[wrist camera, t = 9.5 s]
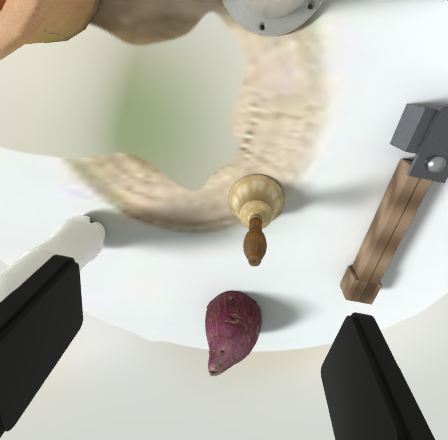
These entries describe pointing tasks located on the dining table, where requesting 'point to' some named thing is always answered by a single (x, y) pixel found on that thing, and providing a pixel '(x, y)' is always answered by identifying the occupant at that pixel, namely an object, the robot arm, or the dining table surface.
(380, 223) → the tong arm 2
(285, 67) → the dining table surface
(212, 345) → the vegetable
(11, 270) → the water bottle
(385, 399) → the robot arm
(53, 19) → the pottery
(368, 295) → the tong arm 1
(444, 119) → the hinge block
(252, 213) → the hand bell
